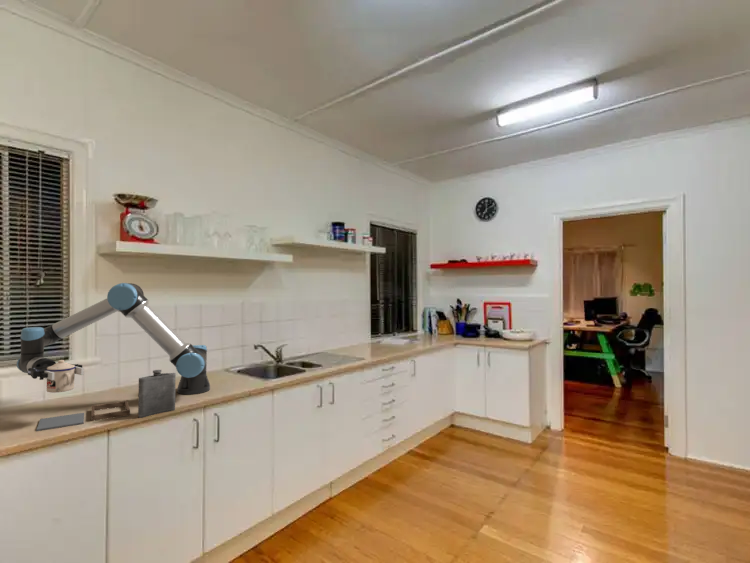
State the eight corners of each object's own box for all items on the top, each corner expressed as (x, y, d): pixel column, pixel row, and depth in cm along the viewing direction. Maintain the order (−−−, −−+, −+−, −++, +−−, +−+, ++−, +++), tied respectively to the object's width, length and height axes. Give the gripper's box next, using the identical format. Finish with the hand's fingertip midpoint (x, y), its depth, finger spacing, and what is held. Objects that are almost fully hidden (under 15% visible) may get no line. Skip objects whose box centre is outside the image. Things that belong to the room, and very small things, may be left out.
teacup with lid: (41, 390, 157) (42, 360, 157) (69, 385, 165) (69, 357, 165) (54, 395, 151) (55, 364, 151) (82, 390, 158) (83, 360, 158)
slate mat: (84, 413, 167) (84, 412, 167) (83, 423, 156) (83, 422, 156) (40, 420, 159) (40, 418, 159) (36, 431, 148) (36, 429, 148)
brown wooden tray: (127, 405, 179) (127, 400, 179) (129, 415, 166) (130, 410, 166) (91, 410, 172) (91, 405, 172) (91, 421, 159) (91, 416, 159)
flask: (136, 416, 165) (136, 372, 165) (172, 408, 176) (173, 367, 176) (139, 418, 163) (140, 373, 163) (176, 410, 173) (176, 368, 174)
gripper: (72, 371, 176) (98, 378, 165) (8, 381, 157) (33, 389, 146) (72, 354, 176) (99, 359, 165) (8, 362, 157) (33, 369, 146)
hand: (68, 373), depth 156 cm, fingers closed on teacup with lid, 9 cm apart
